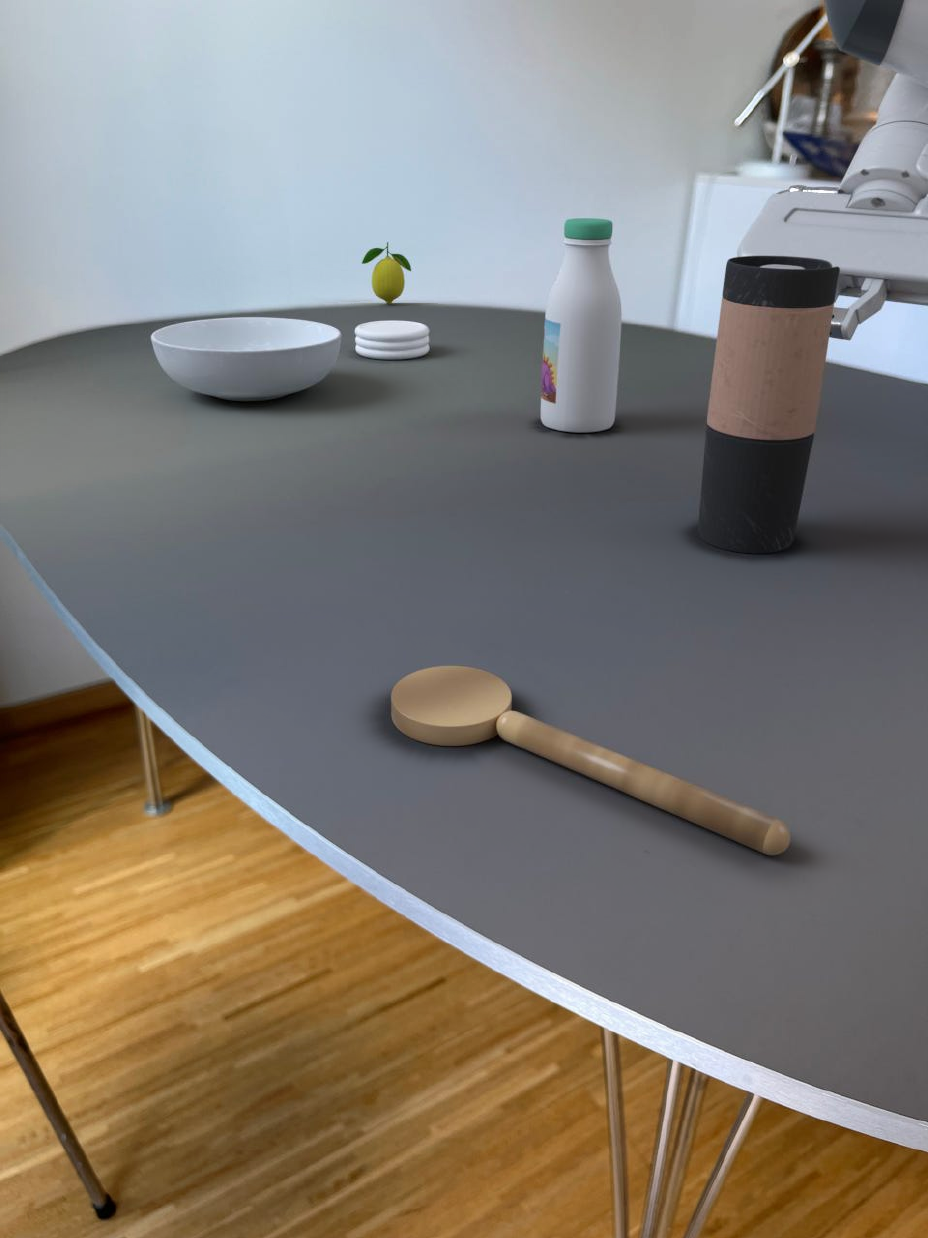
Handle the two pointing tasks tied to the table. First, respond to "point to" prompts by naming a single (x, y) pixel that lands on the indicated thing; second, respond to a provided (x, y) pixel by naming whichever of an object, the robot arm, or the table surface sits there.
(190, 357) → the serving bowl
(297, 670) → the table surface
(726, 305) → the travel mug
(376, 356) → the coaster
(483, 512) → the table surface
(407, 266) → the lemon
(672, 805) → the wooden spoon
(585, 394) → the milk bottle
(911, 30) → the robot arm
